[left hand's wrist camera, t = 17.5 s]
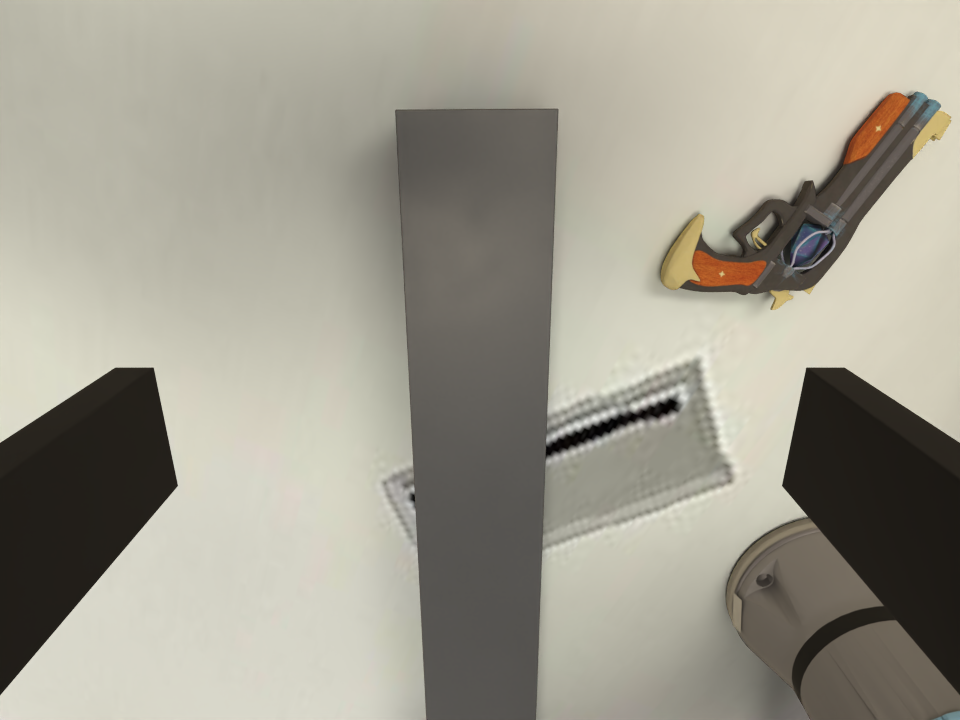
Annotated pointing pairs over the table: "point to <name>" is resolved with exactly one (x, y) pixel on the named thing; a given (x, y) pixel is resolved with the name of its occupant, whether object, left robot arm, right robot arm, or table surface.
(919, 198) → the table surface
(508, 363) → the long grey beam
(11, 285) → the table surface
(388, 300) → the table surface
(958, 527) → the left robot arm
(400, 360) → the table surface
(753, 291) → the toy gun
